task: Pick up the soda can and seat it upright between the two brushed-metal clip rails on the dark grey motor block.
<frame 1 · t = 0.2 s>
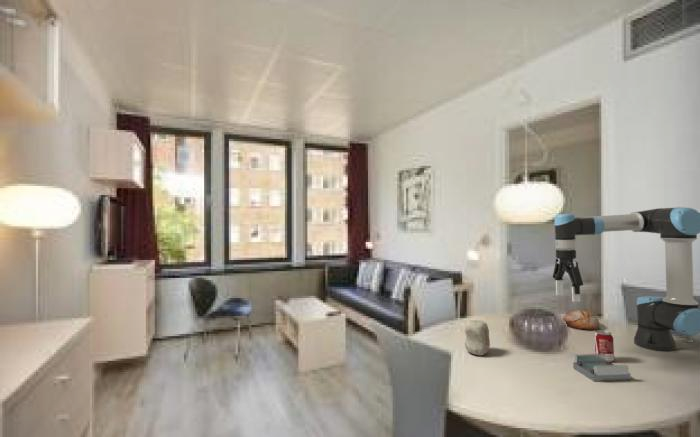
hand: (567, 298, 153), 27 cm above the table, fingers open, 13 cm apart
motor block: (600, 373, 140), on the table
soda can: (604, 360, 153), on the table
stone: (477, 353, 166), on the table
bread: (581, 326, 200), on the table
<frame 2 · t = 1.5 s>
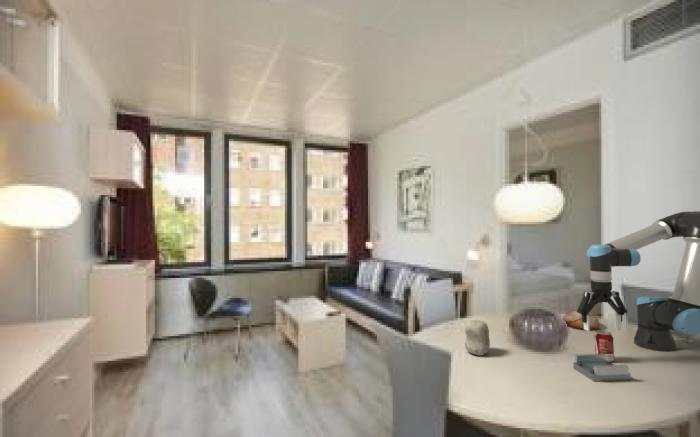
hand: (602, 329, 153), 13 cm above the table, fingers open, 13 cm apart
nothing on the table moved.
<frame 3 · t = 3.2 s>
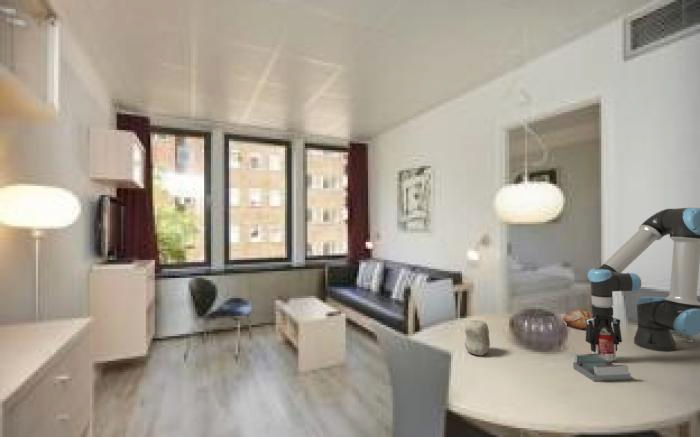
hand: (604, 358, 153), 1 cm above the table, fingers closed on soda can, 7 cm apart
soda can: (604, 360, 153), on the table, touching gripper
everything else where it was.
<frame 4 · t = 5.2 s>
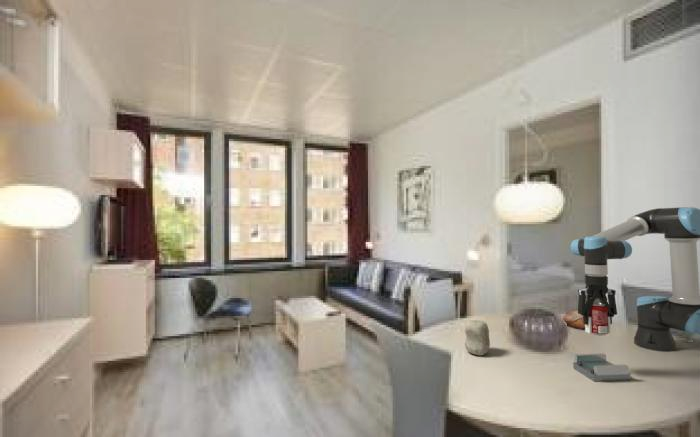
hand: (597, 332, 141), 16 cm above the table, fingers closed on soda can, 7 cm apart
soda can: (597, 334, 141), point 15 cm above the table, touching gripper
everything else where it was.
when the fingers open (4 cm above the table, at t = 7.4 s): soda can drops 1 cm, resting on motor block.
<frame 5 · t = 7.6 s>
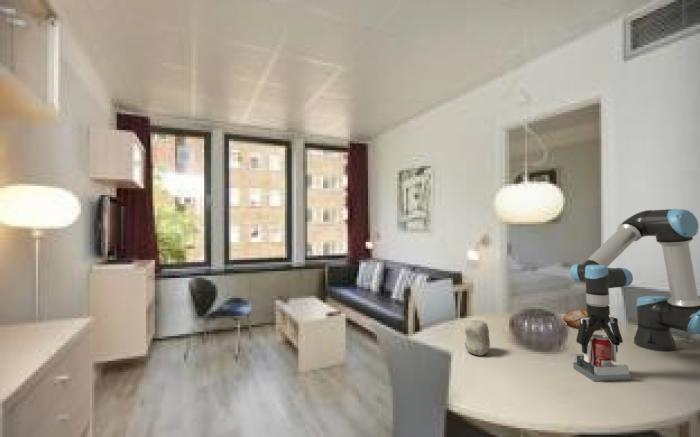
hand: (600, 361, 140), 5 cm above the table, fingers open, 9 cm apart
soda can: (600, 367, 140), point 3 cm above the table, touching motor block
everything else where it was.
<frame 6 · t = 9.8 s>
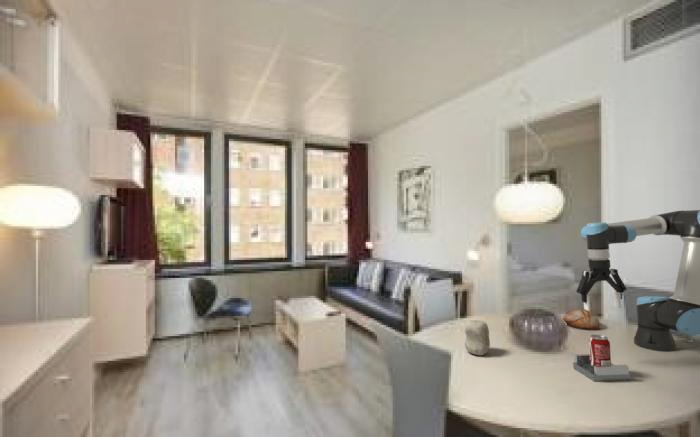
hand: (602, 308, 150), 23 cm above the table, fingers open, 13 cm apart
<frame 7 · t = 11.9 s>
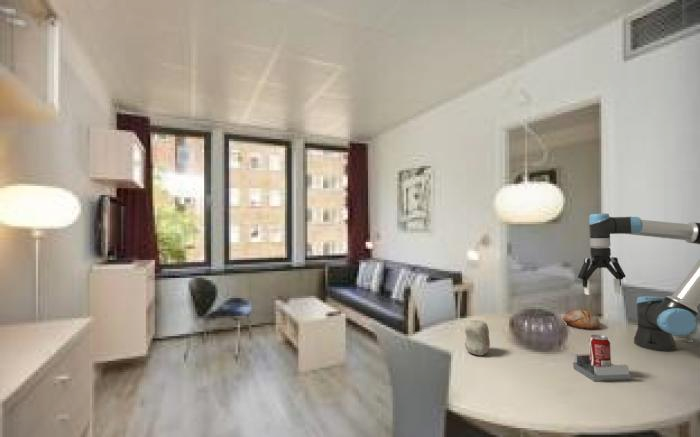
hand: (602, 293, 161), 27 cm above the table, fingers open, 13 cm apart
at the end: soda can inside the target area on the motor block (0.1 cm from its centre), point 2.4 cm above the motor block's base; soda can tilted 0°; the gripper is holding nothing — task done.
